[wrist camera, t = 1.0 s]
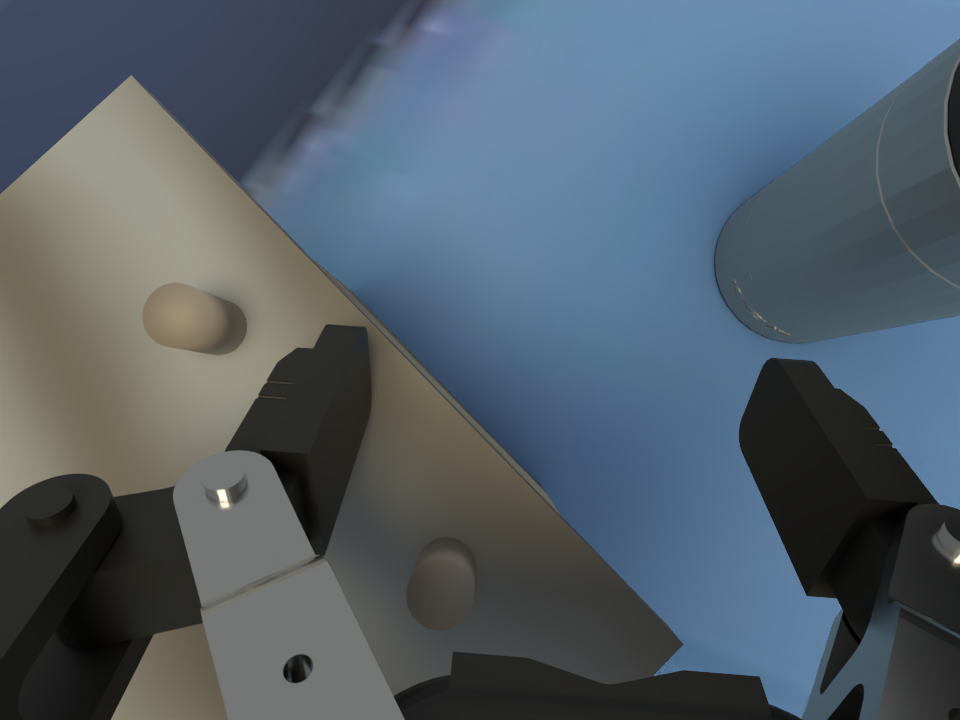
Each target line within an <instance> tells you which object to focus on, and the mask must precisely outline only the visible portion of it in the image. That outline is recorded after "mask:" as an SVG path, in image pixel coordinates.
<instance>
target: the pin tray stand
mask: <svg viewBox="0 0 960 720" xmlns="http://www.w3.org/2000/svg"><path fill="white" fill-rule="evenodd" d="M327 324H333V325H347V326H360V327H365V328H366V329H367V333H368V343H369V358H370V373H371V389H372V399H371V410H370V416H369V420H368V424H367V427H366V430H365V433H364V436H363V439H362V442H361V445H360V448H359V451H358V455H357V458H356V461H355V464H354V467H353V470H352V473H351V476H350V479H349V482H348V485H347V489H346V492H345V495H344V498H343V501H342V504H341V507H340V510H339V513H338V516H337V519H336V523H335V526H334V529H333V532H332V535H331V538H330V541H329V544H328V547H327V550H326V554H325V556H324V557H325V559H326V560H327V562H328V564H329V565H330V567H331V569H332V571H333V573H334V575H335V577H336V579H337V581H338V583H339V585H340V587H341V590H342V592H343V594H344V596H345V598H346V600H347V602H348V604H349V606H350V608H351V610H352V612H353V614H354V616H355V618H356V620H357V622H358V625H359V627H360V629H361V631H362V633H363V635H364V637H365V639H366V641H367V643H368V645H369V647H370V649H371V651H372V653H373V655H374V657H375V659H376V662H377V664H378V666H379V668H380V670H381V672H382V674H383V676H384V678H385V680H386V682H387V684H388V686H389V688H390V690H391V692H392V694H393V696H394V695H396V694H398V693H399V692H401V691H403V690H405V689H407V688H409V687H411V686H413V685H416V684H418V683H421V682H424V681H427V680H430V679H433V678H437V677H441V676H446V675H451V665H452V654H453V652H464V653H476V654H489V655H501V656H513V657H525V658H530V659H533V660H536V661H539V662H542V663H545V664H547V665H550V666H553V667H556V668H559V669H562V670H565V671H568V672H571V673H574V674H576V675H579V676H582V677H585V678H588V679H591V680H594V681H597V682H600V683H604V684H618V683H623V682H628V681H633V680H638V679H643V678H648V677H652V676H653V675H654V674H655V673H656V672H657V671H658V670H659V669H660V668H661V667H662V666H663V665H664V664H665V663H666V662H667V661H668V660H669V659H670V658H671V656H672V655H673V654H674V653H675V652H676V651H677V650H678V649H679V648H680V647H681V646H682V645H683V644H682V642H681V641H680V640H679V639H678V637H677V636H676V635H675V634H674V633H673V631H672V630H671V629H670V628H669V627H668V625H667V624H666V623H665V622H664V621H663V620H662V619H661V618H660V617H659V616H658V615H657V614H656V613H655V612H654V611H653V610H652V609H651V608H650V607H649V606H648V605H647V604H646V603H645V602H644V601H643V600H642V599H641V598H640V597H639V596H638V594H637V593H636V592H635V591H634V590H633V589H632V588H631V587H630V586H629V585H628V584H627V583H626V582H625V581H624V580H623V579H622V578H621V577H620V576H619V575H618V574H617V573H616V572H615V571H614V570H613V569H612V568H611V567H610V566H609V565H608V564H607V563H606V561H605V560H604V559H603V558H602V557H601V556H600V555H599V554H598V553H597V552H596V551H595V550H594V549H593V548H592V547H591V546H590V545H589V544H588V543H587V542H586V541H585V540H584V539H583V538H582V537H581V536H580V535H579V534H578V533H577V532H576V531H575V530H574V529H573V527H572V526H571V525H570V524H569V523H568V522H567V521H566V520H565V519H564V518H563V517H562V516H561V514H560V513H559V511H558V510H557V508H556V507H555V506H554V504H553V503H552V501H551V500H550V498H549V497H548V495H547V494H546V492H545V491H544V489H543V488H542V487H541V486H540V485H539V484H538V483H537V482H536V481H535V480H534V479H533V478H532V477H531V476H530V475H529V474H528V473H527V472H526V471H525V470H524V469H523V468H522V467H521V466H520V465H519V464H518V462H517V461H516V460H515V459H514V458H513V457H512V456H511V455H510V454H509V453H508V452H507V451H506V450H505V449H504V448H503V447H502V446H501V445H500V444H499V443H498V442H497V441H496V440H495V439H494V438H493V437H492V436H491V435H490V434H489V433H488V432H487V431H486V430H485V429H484V427H483V426H482V425H481V424H480V423H479V422H478V421H477V420H476V419H475V418H474V417H473V416H472V415H471V414H470V413H469V412H468V411H467V410H466V409H465V408H464V407H463V406H462V405H461V404H460V403H459V402H458V401H457V400H456V399H455V398H454V397H453V396H452V395H451V394H450V392H449V391H448V390H447V389H446V388H445V387H444V386H443V385H442V384H441V383H440V382H439V381H438V380H437V379H436V378H435V377H434V376H433V375H432V374H431V373H430V372H429V371H428V370H427V369H426V368H425V367H424V366H423V365H422V364H421V363H420V362H419V361H418V360H417V359H416V357H415V356H414V355H413V354H412V353H411V352H410V351H409V350H408V349H407V348H406V347H405V346H404V345H403V344H402V343H401V342H400V341H399V340H398V339H397V338H396V337H395V336H394V335H393V334H392V333H391V332H390V331H389V330H388V329H387V328H386V327H385V326H384V325H383V324H382V322H381V321H380V320H379V319H378V318H377V317H376V316H375V315H374V314H373V313H372V312H371V311H370V310H369V309H368V308H367V307H366V306H365V305H364V304H363V303H362V302H361V301H360V300H359V299H358V298H357V297H356V296H355V295H354V294H353V293H352V292H351V291H350V290H349V289H348V288H347V287H346V286H344V285H343V284H342V283H341V282H340V281H338V280H337V279H336V278H335V277H334V276H332V275H331V274H330V273H329V272H328V271H326V270H325V269H324V268H323V267H322V266H320V265H319V264H318V263H317V262H316V261H314V260H313V259H312V258H311V257H310V256H309V255H308V254H307V253H306V252H305V251H304V250H303V249H302V248H301V247H300V246H299V245H298V244H297V243H296V242H295V241H294V240H293V239H292V238H291V237H290V236H289V235H288V234H287V233H286V232H285V231H284V230H283V229H282V228H281V227H280V226H279V225H278V223H277V222H276V221H275V220H274V219H273V218H272V217H271V216H270V215H269V214H268V213H267V212H266V211H265V210H264V209H263V208H262V207H261V206H260V205H259V204H258V203H257V202H256V201H255V200H254V199H253V198H252V197H251V196H250V195H249V194H248V193H247V192H246V190H245V189H244V188H243V187H242V186H241V185H240V184H239V183H238V182H237V181H236V180H235V179H234V178H233V177H232V176H231V175H230V174H229V173H228V172H227V171H226V170H225V169H224V168H223V167H222V166H221V165H220V164H219V163H218V162H217V161H216V160H215V159H214V158H213V157H212V155H211V154H210V153H209V152H208V151H207V150H206V149H205V148H204V147H203V146H202V145H201V144H200V143H199V142H198V141H197V140H196V139H195V138H194V137H193V136H192V135H191V134H190V133H189V132H188V131H187V130H186V129H185V128H184V127H183V126H182V125H181V124H180V122H179V121H178V120H177V119H176V118H175V117H174V116H173V115H172V114H171V113H170V112H169V111H168V110H167V109H166V108H165V107H164V106H163V105H162V104H161V103H160V102H159V101H158V100H157V99H156V98H155V97H154V96H153V95H152V94H151V93H150V92H149V91H147V90H146V89H145V88H144V87H143V86H142V85H141V84H140V83H139V82H138V81H137V80H135V78H134V77H132V76H130V77H129V78H128V79H127V80H125V81H124V82H123V83H122V84H121V85H120V86H119V87H118V88H117V89H116V90H114V92H112V93H111V94H110V95H109V96H108V97H107V98H106V99H105V100H104V101H102V103H100V104H99V105H98V106H97V107H96V108H95V109H94V110H93V111H91V112H90V113H89V114H88V115H87V116H86V117H85V118H84V119H83V120H82V121H80V122H79V123H78V124H77V125H76V126H75V127H74V128H73V129H72V130H71V131H69V132H68V133H67V134H66V135H65V136H64V137H63V138H62V139H61V140H60V141H58V142H57V143H56V144H55V145H54V146H53V147H52V148H51V149H50V150H49V151H48V152H46V153H45V154H44V155H43V156H42V157H41V158H40V159H39V160H38V161H37V162H36V163H34V164H33V165H32V166H31V167H30V168H29V169H28V170H27V171H26V172H24V173H23V174H22V175H21V176H20V177H19V178H18V179H17V180H16V181H15V182H13V183H12V184H11V185H10V186H9V187H8V188H7V189H6V190H5V191H4V192H2V193H1V194H0V509H1V507H3V506H4V505H5V504H6V503H7V502H8V501H9V500H10V499H11V498H13V497H14V496H15V495H17V494H18V493H20V492H21V491H23V490H24V489H26V488H28V487H30V486H32V485H34V484H36V483H39V482H41V481H43V480H46V479H49V478H52V477H56V476H61V475H66V474H90V475H93V476H97V477H99V478H101V479H103V480H104V481H105V482H106V483H107V484H108V486H109V488H110V490H111V492H112V494H113V497H116V496H122V495H129V494H135V493H141V492H147V491H153V490H159V489H164V488H169V487H173V486H175V485H176V483H177V481H178V480H179V478H180V477H181V476H182V475H183V473H184V472H185V471H186V470H188V469H189V468H190V467H191V466H192V465H194V464H196V463H197V462H199V461H201V460H202V459H204V458H206V457H209V456H212V455H214V454H218V453H221V452H224V451H225V449H226V448H227V446H228V444H229V443H230V441H231V439H232V438H233V436H234V434H235V433H236V431H237V429H238V428H239V426H240V424H241V422H242V421H243V419H244V417H245V416H246V414H247V412H248V411H249V409H250V407H251V406H252V404H253V402H254V401H255V399H256V398H258V394H259V392H260V390H261V389H262V387H263V385H264V384H265V383H267V379H268V377H269V375H270V374H271V372H272V370H273V369H274V367H275V365H276V364H277V362H278V361H279V360H281V359H282V358H284V357H285V356H286V355H288V354H289V353H290V352H292V351H293V350H294V349H296V348H297V347H299V348H312V349H313V348H314V346H315V344H316V342H317V340H318V338H319V336H320V334H321V332H322V330H323V328H324V327H325V325H327ZM316 556H317V557H318V556H320V555H316ZM111 720H229V719H228V715H227V711H226V708H225V704H224V700H223V696H222V693H221V689H220V685H219V681H218V677H217V674H216V670H215V666H214V662H213V659H212V655H211V651H210V647H209V643H208V640H207V636H206V632H205V628H204V624H203V623H202V624H197V625H193V626H189V627H184V628H180V629H175V630H171V631H166V632H162V633H157V634H154V635H153V637H152V639H151V641H150V643H149V645H148V647H147V649H146V651H145V653H144V655H143V657H142V659H141V661H140V663H139V665H138V667H137V669H136V671H135V673H134V675H133V677H132V679H131V681H130V683H129V685H128V687H127V689H126V691H125V693H124V695H123V697H122V699H121V701H120V702H119V704H118V706H117V708H116V710H115V712H114V714H113V716H112V718H111Z"/></svg>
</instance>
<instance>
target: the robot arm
mask: <svg viewBox="0 0 960 720" xmlns="http://www.w3.org/2000/svg"><path fill="white" fill-rule="evenodd" d="M715 268H716V277H717V281H718V284H719V288H720V291H721V293H722V295H723V297H724V299H725V301H726V303H727V305H728V307H729V308H730V309H731V310H732V311H733V313H734V314H735V315H736V316H737V317H738V319H739V320H740V321H742V322H743V323H744V324H745V325H747V326H748V327H749V328H750V329H752V330H753V331H755V332H757V333H759V334H761V335H763V336H765V337H767V338H770V339H774V340H778V341H781V342H788V343H806V342H813V341H819V340H824V339H830V338H836V337H841V336H847V335H855V334H860V333H866V332H871V331H877V330H882V329H888V328H893V327H899V326H904V325H910V324H915V323H921V322H926V321H932V320H937V319H943V318H948V317H954V316H959V315H960V39H959V40H957V41H956V42H955V43H954V44H952V45H951V46H950V47H948V48H947V49H946V50H944V51H943V52H942V53H940V54H939V55H938V56H937V57H935V58H934V59H933V60H931V61H930V62H929V63H928V64H926V65H925V66H924V67H923V68H921V69H920V70H919V71H918V72H916V73H915V74H914V75H912V76H911V77H910V78H908V79H907V80H906V81H904V82H903V83H902V84H900V85H899V86H898V87H896V88H895V89H894V90H893V91H891V92H890V93H889V94H887V95H886V96H885V97H883V98H882V99H881V100H879V101H878V102H877V103H875V104H874V105H873V106H871V107H870V108H869V109H867V110H866V111H865V112H864V113H862V114H861V115H860V116H858V117H857V118H856V119H854V120H853V121H852V122H850V123H849V124H848V125H846V126H845V127H844V128H842V129H841V130H840V131H839V132H837V133H836V134H835V135H833V136H832V137H831V138H829V139H828V140H827V141H825V142H824V143H823V144H821V145H820V146H819V147H817V148H816V149H815V150H814V151H812V152H811V153H810V154H808V155H807V156H806V157H804V158H803V159H802V160H800V161H799V162H798V163H796V164H795V165H794V166H792V167H791V168H790V169H788V170H787V171H786V172H785V173H783V174H782V175H780V176H779V177H777V178H776V179H775V180H773V181H772V182H771V183H770V184H768V185H767V186H766V187H764V188H763V189H762V190H760V191H759V192H758V193H756V194H755V195H754V196H753V197H751V198H750V199H749V200H747V201H746V202H745V203H743V204H742V205H741V206H740V207H739V208H738V209H737V210H736V211H735V212H734V213H733V214H732V215H731V217H730V218H729V220H728V221H727V223H726V224H725V226H724V227H723V230H722V232H721V235H720V237H719V240H718V243H717V249H716V255H715ZM371 399H372V389H371V373H370V358H369V343H368V333H367V329H366V328H365V327H360V326H347V325H333V324H327V325H325V327H324V328H323V330H322V332H321V334H320V336H319V338H318V340H317V342H316V344H315V346H314V348H313V349H312V348H299V347H297V348H296V349H294V350H293V351H292V352H290V353H289V354H288V355H286V356H285V357H284V358H282V359H281V360H279V361H278V362H277V364H276V365H275V367H274V369H273V370H272V372H271V374H270V375H269V377H268V379H267V383H265V384H264V385H263V387H262V389H261V390H260V392H259V394H258V398H256V399H255V401H254V402H253V404H252V406H251V407H250V409H249V411H248V412H247V414H246V416H245V417H244V419H243V421H242V422H241V424H240V426H239V428H238V429H237V431H236V433H235V434H234V436H233V438H232V439H231V441H230V443H229V444H228V446H227V448H226V449H225V451H224V452H221V453H218V454H214V455H212V456H209V457H206V458H204V459H202V460H201V461H199V462H197V463H196V464H194V465H192V466H191V467H190V468H189V469H188V470H186V471H185V472H184V473H183V475H182V476H181V477H180V478H179V480H178V481H177V483H176V485H175V486H173V487H169V488H164V489H159V490H153V491H147V492H141V493H135V494H129V495H122V496H116V497H113V494H112V492H111V490H110V488H109V486H108V484H107V483H106V482H105V481H104V480H103V479H101V478H99V477H97V476H93V475H90V474H66V475H61V476H56V477H52V478H49V479H46V480H43V481H41V482H39V483H36V484H34V485H32V486H30V487H28V488H26V489H24V490H23V491H21V492H20V493H18V494H17V495H15V496H14V497H13V498H11V499H10V500H9V501H8V502H7V503H6V504H5V505H4V506H3V507H1V509H0V720H111V718H112V716H113V714H114V712H115V710H116V708H117V706H118V704H119V702H120V701H121V699H122V697H123V695H124V693H125V691H126V689H127V687H128V685H129V683H130V681H131V679H132V677H133V675H134V673H135V671H136V669H137V667H138V665H139V663H140V661H141V659H142V657H143V655H144V653H145V651H146V649H147V647H148V645H149V643H150V641H151V639H152V637H153V635H154V634H157V633H162V632H166V631H171V630H175V629H180V628H184V627H189V626H193V625H197V624H202V623H203V624H204V628H205V632H206V636H207V640H208V643H209V647H210V651H211V655H212V659H213V662H214V666H215V670H216V674H217V677H218V681H219V685H220V689H221V693H222V696H223V700H224V704H225V708H226V711H227V715H228V719H229V720H960V510H958V509H955V508H952V507H949V506H944V505H939V504H938V503H937V501H936V500H935V499H934V497H933V496H932V495H931V493H930V492H929V491H928V490H927V488H926V487H925V486H924V484H923V483H922V482H921V480H920V479H919V478H918V477H917V475H916V474H915V473H914V471H913V470H912V469H911V467H910V466H909V465H908V464H907V462H906V461H905V460H904V458H903V457H902V456H901V454H900V453H899V452H898V450H897V449H896V448H892V443H891V441H890V440H889V439H888V437H887V436H886V435H885V434H884V432H883V431H879V428H880V427H879V426H878V424H877V423H876V422H875V420H874V419H873V418H872V417H871V415H870V414H869V413H868V411H867V410H866V409H865V407H863V406H862V405H861V404H859V403H858V402H857V401H855V400H854V399H853V398H851V397H850V396H849V395H847V394H846V393H845V392H843V391H842V390H841V389H835V388H834V387H833V385H832V384H831V383H830V381H829V380H828V378H827V377H826V376H825V374H824V373H823V372H822V370H821V369H820V368H819V366H818V365H817V364H816V363H815V362H813V361H806V360H792V359H779V358H771V359H769V360H767V361H766V362H765V364H764V365H763V367H762V369H761V372H760V374H759V377H758V379H757V382H756V384H755V387H754V389H753V392H752V394H751V397H750V399H749V402H748V404H747V407H746V409H745V412H744V414H743V417H742V419H741V423H740V429H739V442H740V447H741V451H742V453H743V455H744V458H745V460H746V462H747V464H748V467H749V469H750V471H751V473H752V475H753V478H754V480H755V482H756V484H757V486H758V489H759V491H760V493H761V495H762V498H763V500H764V502H765V504H766V506H767V509H768V511H769V513H770V515H771V518H772V520H773V522H774V524H775V526H776V529H777V531H778V533H779V535H780V537H781V540H782V542H783V544H784V546H785V549H786V551H787V553H788V555H789V557H790V560H791V562H792V564H793V566H794V569H795V571H796V573H797V575H798V577H799V580H800V582H801V584H802V586H803V588H804V591H805V593H806V595H807V596H814V597H827V598H837V599H838V601H839V603H840V605H841V607H842V609H841V610H840V612H839V613H838V615H837V616H836V617H835V619H834V621H833V624H832V627H831V631H830V634H829V637H828V640H827V643H826V647H825V650H824V653H823V656H822V659H821V663H820V666H819V669H818V672H817V675H816V679H815V682H814V685H813V688H812V691H811V694H810V698H809V701H808V704H807V707H806V709H805V711H804V714H803V716H802V718H801V719H800V718H798V717H797V716H795V715H793V714H791V713H789V712H786V711H784V710H782V709H780V708H778V707H776V706H773V705H770V704H768V701H767V698H766V695H765V692H764V689H763V686H762V683H761V680H760V677H758V676H746V675H733V674H721V673H709V672H697V671H684V670H683V671H678V672H673V673H668V674H663V675H658V676H653V677H648V678H643V679H638V680H633V681H628V682H623V683H618V684H604V683H600V682H597V681H594V680H591V679H588V678H585V677H582V676H579V675H576V674H574V673H571V672H568V671H565V670H562V669H559V668H556V667H553V666H550V665H547V664H545V663H542V662H539V661H536V660H533V659H530V658H525V657H513V656H501V655H489V654H476V653H464V652H453V654H452V665H451V675H446V676H441V677H437V678H433V679H430V680H427V681H424V682H421V683H418V684H416V685H413V686H411V687H409V688H407V689H405V690H403V691H401V692H399V693H398V694H396V695H394V696H393V694H392V692H391V690H390V688H389V686H388V684H387V682H386V680H385V678H384V676H383V674H382V672H381V670H380V668H379V666H378V664H377V662H376V659H375V657H374V655H373V653H372V651H371V649H370V647H369V645H368V643H367V641H366V639H365V637H364V635H363V633H362V631H361V629H360V627H359V625H358V622H357V620H356V618H355V616H354V614H353V612H352V610H351V608H350V606H349V604H348V602H347V600H346V598H345V596H344V594H343V592H342V590H341V587H340V585H339V583H338V581H337V579H336V577H335V575H334V573H333V571H332V569H331V567H330V565H329V564H328V562H327V560H326V559H325V557H324V556H325V554H326V550H327V547H328V544H329V541H330V538H331V535H332V532H333V529H334V526H335V523H336V519H337V516H338V513H339V510H340V507H341V504H342V501H343V498H344V495H345V492H346V489H347V485H348V482H349V479H350V476H351V473H352V470H353V467H354V464H355V461H356V458H357V455H358V451H359V448H360V445H361V442H362V439H363V436H364V433H365V430H366V427H367V424H368V420H369V416H370V410H371ZM316 555H320V556H318V557H317V556H316Z"/></svg>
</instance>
